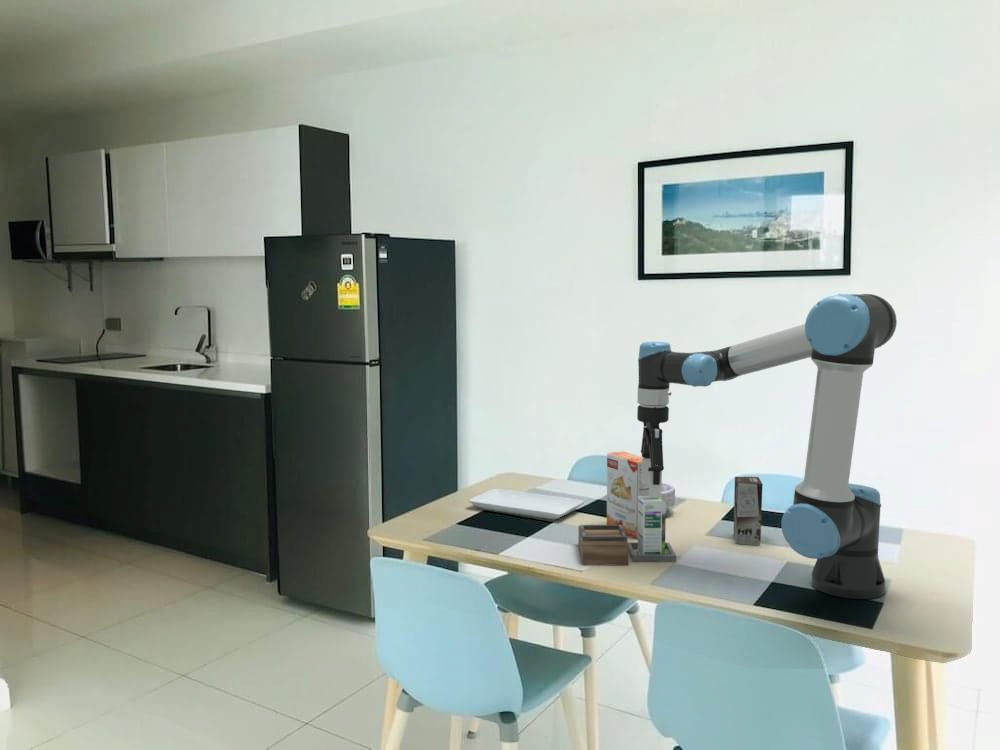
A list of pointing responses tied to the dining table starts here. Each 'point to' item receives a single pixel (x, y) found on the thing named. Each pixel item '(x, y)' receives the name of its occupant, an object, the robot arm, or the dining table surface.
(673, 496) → the paper bowls
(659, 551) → the syrup box
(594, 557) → the raised socket stand
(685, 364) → the robot arm
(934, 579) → the dining table surface
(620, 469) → the cracker box
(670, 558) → the low socket
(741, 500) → the coffee box
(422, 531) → the dining table surface
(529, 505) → the tray
